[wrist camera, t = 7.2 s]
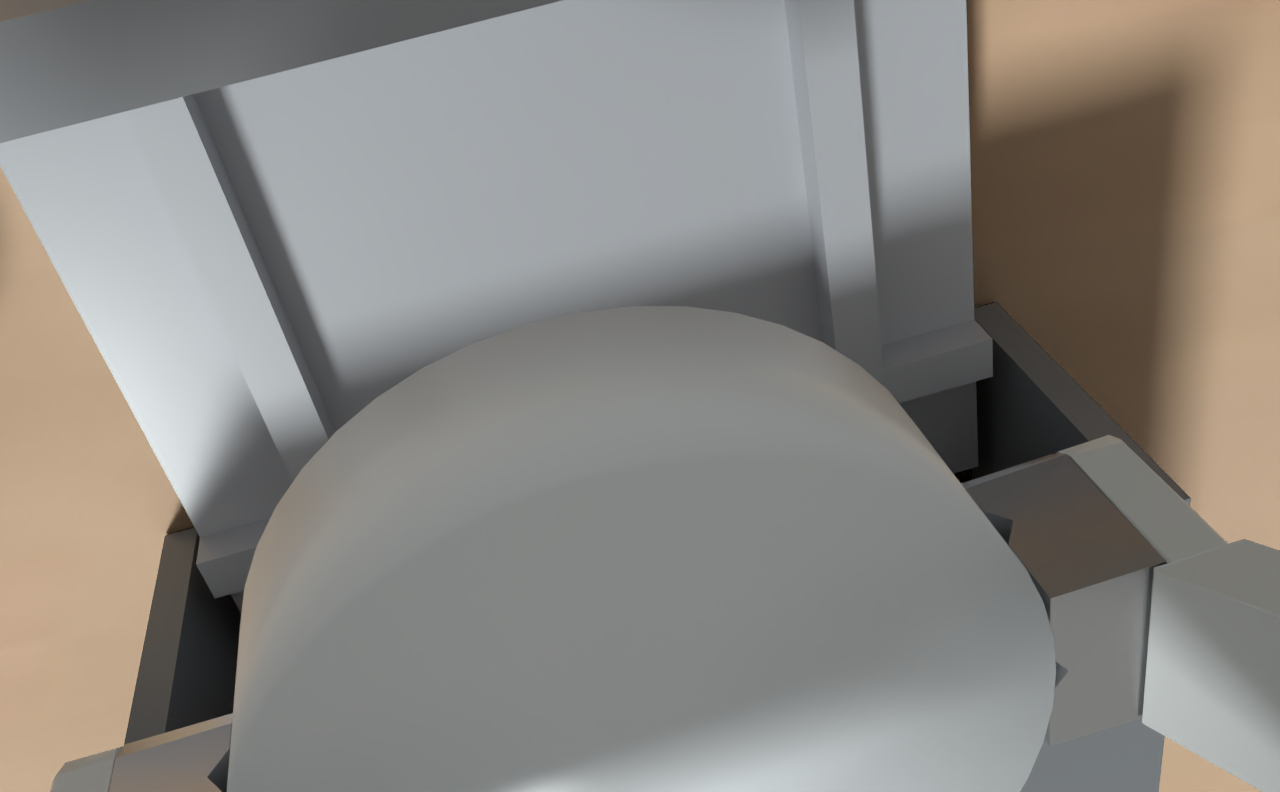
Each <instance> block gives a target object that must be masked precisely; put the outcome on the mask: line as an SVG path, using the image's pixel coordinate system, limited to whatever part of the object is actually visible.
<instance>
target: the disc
mask: <svg viewBox="0 0 1280 792" xmlns="http://www.w3.org/2000/svg"><path fill="white" fill-rule="evenodd" d="M1055 679H1056V663H1055V651H1054V639H1053V633H1052V630H1051V627H1050V623H1049V620H1048V616H1047V613H1046V609H1045V606H1044V602H1043V600H1042V598H1041V596H1040V594H1039V592H1038V591H1037V589H1036V587H1035V585H1034V583H1033V581H1032V579H1031V577H1030V575H1029V573H1028V571H1027V570H1026V568H1025V567H1024V565H1023V564H1022V563H1021V562H1020V560H1019V559H1018V558H1017V556H1016V555H1015V554H1014V552H1013V551H1012V550H1011V548H1010V547H1009V546H1008V545H1007V543H1006V542H1005V541H1004V539H1003V538H1002V537H1001V535H1000V534H999V533H998V531H997V530H996V529H995V528H994V526H993V525H992V524H991V522H990V521H989V520H988V518H987V517H986V516H985V514H984V513H983V512H982V511H981V509H980V508H979V507H978V505H977V504H976V503H975V501H974V500H973V499H972V497H971V496H970V495H969V494H968V492H967V491H966V490H965V488H964V487H963V486H962V484H961V483H960V482H959V480H958V479H957V478H956V477H955V475H954V474H953V473H952V471H951V470H950V469H949V467H948V466H947V465H946V463H945V462H944V461H943V460H942V458H941V457H940V456H939V454H938V453H937V452H936V450H935V449H934V448H933V446H932V445H931V444H930V443H929V441H928V440H927V439H926V437H925V436H924V435H923V433H922V432H921V431H920V429H919V428H918V427H917V426H916V424H915V423H914V422H913V420H912V419H911V418H910V417H909V415H908V414H907V413H906V412H905V410H904V409H903V408H902V407H901V405H900V404H899V403H898V402H897V401H896V399H895V398H894V397H893V396H892V394H891V393H890V392H889V391H888V390H887V389H886V388H885V387H884V386H883V385H882V384H880V383H879V382H878V381H877V380H876V379H875V378H874V377H872V376H871V375H870V374H869V373H868V372H867V371H865V370H864V369H863V368H862V367H861V366H860V365H859V364H857V363H855V362H854V361H852V360H851V359H849V358H847V357H846V356H844V355H842V354H841V353H839V352H838V351H836V350H834V349H833V348H831V347H830V346H828V345H826V344H825V343H823V342H821V341H818V340H816V339H814V338H811V337H809V336H807V335H804V334H802V333H800V332H797V331H795V330H793V329H790V328H788V327H786V326H783V325H780V324H776V323H773V322H769V321H765V320H761V319H758V318H754V317H750V316H746V315H743V314H739V313H734V312H727V311H719V310H711V309H704V308H696V307H688V306H629V307H620V308H611V309H602V310H593V311H585V312H578V313H573V314H569V315H565V316H560V317H556V318H552V319H547V320H543V321H539V322H535V323H530V324H526V325H523V326H520V327H517V328H514V329H512V330H509V331H506V332H503V333H500V334H498V335H495V336H492V337H489V338H486V339H483V340H481V341H478V342H475V343H472V344H470V345H468V346H466V347H464V348H462V349H460V350H458V351H456V352H454V353H452V354H450V355H448V356H446V357H444V358H442V359H440V360H438V361H436V362H434V363H432V364H429V365H427V366H425V367H423V368H422V369H420V370H418V371H417V372H415V373H414V374H412V375H411V376H409V377H408V378H406V379H405V380H403V381H401V382H400V383H398V384H397V385H395V386H394V387H392V388H391V389H389V390H388V391H386V392H384V393H383V394H381V395H380V396H378V397H377V398H376V399H374V400H373V401H372V402H371V403H370V404H368V405H367V406H366V407H365V408H364V409H362V410H361V411H360V412H359V413H358V414H356V415H355V416H354V417H353V418H352V419H350V420H349V421H348V422H347V423H346V424H344V425H343V426H342V427H341V428H340V429H339V430H337V431H336V432H335V433H334V434H333V435H332V437H331V438H330V439H329V440H328V441H327V442H326V443H325V444H324V445H323V446H322V447H321V449H320V450H319V451H318V452H317V453H316V454H315V455H314V456H313V457H312V458H311V459H310V461H309V462H308V463H307V464H306V465H305V466H304V467H303V468H302V470H301V471H300V472H299V474H298V475H297V477H296V478H295V480H294V481H293V483H292V484H291V486H290V487H289V488H288V490H287V491H286V493H285V494H284V496H283V497H282V499H281V500H280V502H279V503H278V504H277V506H276V507H275V509H274V512H273V514H272V516H271V518H270V520H269V522H268V524H267V526H266V528H265V530H264V532H263V534H262V536H261V538H260V540H259V542H258V545H257V547H256V550H255V553H254V556H253V560H252V563H251V567H250V570H249V573H248V577H247V580H246V583H245V587H244V595H243V604H242V613H241V622H240V632H239V645H238V657H237V669H236V682H235V694H234V707H233V719H232V731H231V744H230V756H229V768H228V781H227V792H1020V791H1021V789H1022V788H1023V786H1024V784H1025V782H1026V781H1027V779H1028V777H1029V775H1030V773H1031V770H1032V768H1033V766H1034V763H1035V761H1036V759H1037V756H1038V754H1039V752H1040V749H1041V747H1042V745H1043V742H1044V738H1045V734H1046V731H1047V727H1048V723H1049V719H1050V716H1051V712H1052V708H1053V699H1054V689H1055Z"/></svg>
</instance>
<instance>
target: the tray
mask: <svg viewBox="0 0 1280 792" xmlns="http://www.w3.org/2000/svg"><path fill="white" fill-rule="evenodd" d="M0 166H1V168H2V170H3V172H4V174H5V176H6V178H7V179H8V181H9V183H10V185H11V187H12V189H13V191H14V192H15V194H16V196H17V198H18V200H19V202H20V204H21V205H22V207H23V209H24V211H25V213H26V215H27V217H28V218H29V220H30V222H31V224H32V226H33V228H34V230H35V232H36V233H37V235H38V237H39V239H40V241H41V243H42V245H43V246H44V248H45V250H46V252H47V254H48V256H49V258H50V259H51V261H52V263H53V265H54V267H55V269H56V271H57V272H58V274H59V276H60V278H61V280H62V282H63V284H64V285H65V287H66V289H67V291H68V293H69V295H70V297H71V298H72V300H73V302H74V304H75V306H76V308H77V310H78V311H79V313H80V315H81V317H82V319H83V321H84V323H85V324H86V326H87V328H88V330H89V332H90V334H91V336H92V337H93V339H94V341H95V343H96V345H97V347H98V349H99V351H100V352H101V354H102V356H103V358H104V360H105V362H106V364H107V365H108V367H109V369H110V371H111V373H112V375H113V377H114V378H115V380H116V382H117V384H118V386H119V388H120V390H121V391H122V393H123V395H124V397H125V399H126V401H127V403H128V404H129V406H130V408H131V410H132V412H133V414H134V416H135V417H136V419H137V421H138V423H139V425H140V427H141V429H142V430H143V432H144V434H145V436H146V438H147V440H148V442H149V443H150V445H151V447H152V449H153V451H154V453H155V455H156V456H157V458H158V460H159V462H160V464H161V466H162V468H163V470H164V471H165V473H166V475H167V477H168V479H169V481H170V483H171V484H172V486H173V488H174V490H175V492H176V494H177V496H178V497H179V499H180V501H181V503H182V505H183V507H184V509H185V510H186V512H187V514H188V516H189V518H190V520H191V522H192V523H193V525H194V527H195V529H196V531H197V533H198V535H199V536H200V542H199V548H198V555H197V561H196V565H197V567H198V569H199V571H200V573H201V574H202V576H203V578H204V580H205V582H206V584H207V585H208V587H209V589H210V591H211V593H212V594H213V596H214V598H219V597H222V596H226V595H229V594H231V596H232V598H233V600H234V602H235V603H236V605H237V607H238V609H239V611H240V613H242V604H243V595H244V587H245V583H246V580H247V577H248V573H249V570H250V567H251V563H252V560H253V556H254V553H255V550H256V547H257V545H258V542H259V540H260V538H261V536H262V534H263V532H264V530H265V528H266V526H267V524H268V522H269V520H270V518H271V516H272V514H273V512H274V509H275V507H276V506H277V504H278V503H279V502H280V500H281V499H282V497H283V496H284V494H285V493H286V491H287V490H288V488H289V487H290V486H291V484H292V483H293V481H294V480H295V478H296V477H297V475H298V474H299V472H300V471H301V470H302V468H303V467H304V466H305V465H306V464H307V463H308V462H309V461H310V459H311V458H312V457H313V456H314V455H315V454H316V453H317V452H318V451H319V450H320V449H321V447H322V446H323V445H324V444H325V443H326V442H327V441H328V440H329V439H330V438H331V437H332V435H333V434H334V433H335V432H336V431H337V430H339V429H340V428H341V427H342V426H343V425H344V424H346V423H347V422H348V421H349V420H350V419H352V418H353V417H354V416H355V415H356V414H358V413H359V412H360V411H361V410H362V409H364V408H365V407H366V406H367V405H368V404H370V403H371V402H372V401H373V400H374V399H376V398H377V397H378V396H380V395H381V394H383V393H384V392H386V391H388V390H389V389H391V388H392V387H394V386H395V385H397V384H398V383H400V382H401V381H403V380H405V379H406V378H408V377H409V376H411V375H412V374H414V373H415V372H417V371H418V370H420V369H422V368H423V367H425V366H427V365H429V364H432V363H434V362H436V361H438V360H440V359H442V358H444V357H446V356H448V355H450V354H452V353H454V352H456V351H458V350H460V349H462V348H464V347H466V346H468V345H470V344H472V343H475V342H478V341H481V340H483V339H486V338H489V337H492V336H495V335H498V334H500V333H503V332H506V331H509V330H512V329H514V328H517V327H520V326H523V325H526V324H530V323H535V322H539V321H543V320H547V319H552V318H556V317H560V316H565V315H569V314H573V313H578V312H585V311H593V310H602V309H611V308H620V307H629V306H688V307H696V308H704V309H711V310H719V311H727V312H734V313H739V314H743V315H746V316H750V317H754V318H758V319H761V320H765V321H769V322H773V323H776V324H780V325H783V326H786V327H788V328H790V329H793V330H795V331H797V332H800V333H802V334H804V335H807V336H809V337H811V338H814V339H816V340H818V341H821V342H823V343H825V344H826V345H828V346H830V347H831V348H833V349H834V350H836V351H838V352H839V353H841V354H842V355H844V356H846V357H847V358H849V359H851V360H852V361H854V362H855V363H857V364H859V365H860V366H861V367H862V368H863V369H864V370H865V371H867V372H868V373H869V374H870V375H871V376H872V377H874V378H875V379H876V380H877V381H878V382H879V383H880V384H882V385H883V386H884V387H885V388H886V389H887V390H888V391H889V392H890V393H891V394H892V396H893V397H894V398H895V399H896V401H897V402H898V403H899V404H900V405H901V407H902V408H903V409H904V410H905V412H906V413H907V414H908V415H909V417H910V418H911V419H912V420H913V422H914V423H915V424H916V426H917V427H918V428H919V429H920V431H921V432H922V433H923V435H924V436H925V437H926V439H927V440H928V441H929V443H930V444H931V445H932V446H933V448H934V449H935V450H936V452H937V453H938V454H939V456H940V457H941V458H942V460H943V461H944V462H945V463H946V465H947V466H948V467H949V469H950V470H951V471H952V473H953V474H954V473H957V472H961V471H964V470H968V469H971V468H974V467H978V434H977V396H976V381H979V380H982V379H986V378H989V377H993V343H992V338H991V337H990V336H989V335H988V334H987V333H986V331H985V330H984V329H983V328H982V327H981V326H980V325H979V324H978V323H977V322H976V321H975V319H974V281H973V242H972V204H971V166H970V127H969V89H968V50H967V12H966V0H0Z"/></svg>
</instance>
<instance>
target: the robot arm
mask: <svg viewBox="0 0 1280 792" xmlns="http://www.w3.org/2000/svg"><path fill="white" fill-rule="evenodd" d="M961 484H962V486H963V487H964V488H965V490H966V491H967V492H968V494H969V495H970V496H971V497H972V499H973V500H974V501H975V503H976V504H977V505H978V507H979V508H980V509H981V511H982V512H983V513H984V514H985V516H986V517H987V518H988V520H989V521H990V522H991V524H992V525H993V526H994V528H995V529H996V530H997V531H998V533H999V534H1000V535H1001V537H1002V538H1003V539H1004V541H1005V542H1006V543H1007V545H1008V546H1009V547H1010V548H1011V550H1012V551H1013V552H1014V554H1015V555H1016V556H1017V558H1018V559H1019V560H1020V562H1021V563H1022V564H1023V565H1024V567H1025V568H1026V570H1027V571H1028V573H1029V575H1030V577H1031V579H1032V581H1033V583H1034V585H1035V587H1036V589H1037V591H1038V592H1039V594H1040V596H1041V598H1042V600H1043V602H1044V606H1045V609H1046V613H1047V616H1048V620H1049V623H1050V627H1051V630H1052V633H1053V639H1054V651H1055V663H1056V679H1055V689H1054V699H1053V708H1052V712H1051V716H1050V719H1049V723H1048V727H1047V731H1046V734H1045V740H1046V741H1047V743H1048V744H1049V746H1052V745H1055V744H1059V743H1062V742H1065V741H1069V740H1072V739H1075V738H1078V737H1082V736H1085V735H1088V734H1092V733H1095V732H1098V731H1101V730H1105V729H1108V728H1111V727H1114V726H1118V725H1121V724H1124V723H1128V722H1131V721H1134V720H1137V719H1141V718H1142V723H1143V724H1144V725H1146V726H1148V727H1150V728H1151V729H1153V730H1155V731H1157V732H1158V733H1160V734H1162V735H1164V736H1165V737H1167V738H1169V739H1171V740H1173V741H1174V742H1176V743H1178V744H1180V745H1181V746H1183V747H1185V748H1187V749H1188V750H1190V751H1192V752H1194V753H1195V754H1197V755H1199V756H1201V757H1202V758H1204V759H1206V760H1208V761H1209V762H1211V763H1213V764H1215V765H1216V766H1218V767H1220V768H1222V769H1223V770H1225V771H1227V772H1229V773H1230V774H1232V775H1234V776H1236V777H1237V778H1239V779H1241V780H1243V781H1244V782H1246V783H1248V784H1250V785H1251V786H1253V787H1255V788H1257V789H1258V790H1260V791H1262V792H1280V551H1279V550H1276V549H1273V548H1270V547H1267V546H1264V545H1261V544H1258V543H1255V542H1252V541H1249V540H1246V539H1243V540H1240V541H1236V542H1233V543H1230V544H1228V543H1227V542H1226V541H1225V540H1224V539H1223V538H1222V537H1221V536H1220V535H1219V534H1218V533H1217V532H1216V531H1215V530H1214V529H1213V528H1212V527H1211V526H1210V525H1209V524H1208V523H1207V522H1206V521H1205V520H1204V519H1203V518H1202V517H1201V516H1199V515H1198V514H1197V513H1196V512H1195V511H1194V510H1193V509H1192V508H1191V507H1190V506H1189V505H1188V504H1187V503H1186V502H1185V501H1184V500H1183V499H1182V498H1181V497H1180V496H1179V495H1178V494H1177V493H1176V492H1175V491H1174V490H1173V489H1172V488H1171V487H1170V486H1169V485H1167V484H1166V483H1165V482H1164V481H1163V480H1162V479H1161V478H1160V477H1159V476H1158V475H1157V474H1156V473H1155V472H1154V471H1153V470H1152V469H1151V468H1150V467H1149V466H1148V465H1147V464H1146V463H1145V462H1144V461H1143V460H1142V459H1141V458H1140V457H1139V456H1138V455H1137V454H1135V453H1134V452H1133V451H1132V450H1131V449H1130V448H1129V447H1128V446H1127V445H1126V444H1125V443H1124V442H1123V441H1122V440H1121V439H1119V438H1116V437H1113V436H1111V435H1107V436H1104V437H1101V438H1098V439H1095V440H1092V441H1089V442H1086V443H1083V444H1080V445H1076V446H1073V447H1070V448H1067V449H1064V450H1061V451H1058V452H1057V453H1056V454H1050V455H1047V456H1044V457H1041V458H1038V459H1035V460H1032V461H1029V462H1026V463H1023V464H1020V465H1017V466H1013V467H1010V468H1007V469H1004V470H1001V471H998V472H995V473H992V474H989V475H986V476H983V477H980V478H976V479H973V480H970V481H967V482H964V483H961ZM232 719H233V713H232V714H228V715H225V716H221V717H218V718H214V719H211V720H207V721H204V722H201V723H197V724H194V725H190V726H187V727H183V728H180V729H176V730H173V731H169V732H166V733H163V734H159V735H156V736H152V737H149V738H145V739H142V740H138V741H135V742H131V743H128V744H125V745H124V746H123V747H120V748H116V749H112V750H109V751H105V752H102V753H98V754H95V755H91V756H88V757H84V758H80V759H77V760H73V761H70V762H66V763H65V764H64V766H63V767H62V768H61V769H60V771H59V772H58V773H57V775H56V776H55V778H54V780H53V783H52V787H51V791H50V792H227V781H228V768H229V756H230V744H231V731H232Z"/></svg>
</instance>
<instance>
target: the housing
mask: <svg viewBox="0 0 1280 792" xmlns="http://www.w3.org/2000/svg"><path fill="white" fill-rule="evenodd" d="M974 319H975V321H976V322H977V323H978V324H979V325H980V326H981V327H982V328H983V329H984V330H985V331H986V333H987V334H988V335H989V336H990V337H991V338H992V343H993V377H989V378H986V379H982V380H979V381H976V396H977V434H978V467H974V468H972V480H973V479H976V478H980V477H983V476H986V475H989V474H992V473H995V472H998V471H1001V470H1004V469H1007V468H1010V467H1013V466H1017V465H1020V464H1023V463H1026V462H1029V461H1032V460H1035V459H1038V458H1041V457H1044V456H1047V455H1050V454H1056V453H1057V452H1058V451H1061V450H1064V449H1067V448H1070V447H1073V446H1076V445H1080V444H1083V443H1086V442H1089V441H1092V440H1095V439H1098V438H1101V437H1104V436H1107V435H1111V436H1113V437H1116V438H1119V439H1121V440H1122V441H1123V442H1124V443H1125V444H1126V445H1127V446H1128V447H1129V448H1130V449H1131V450H1132V451H1133V452H1134V453H1135V454H1137V455H1138V456H1139V457H1140V458H1141V459H1142V460H1143V461H1144V462H1145V463H1146V464H1147V465H1148V466H1149V467H1150V468H1151V469H1152V470H1153V471H1154V472H1155V473H1156V474H1157V475H1158V476H1159V477H1160V478H1161V479H1162V480H1163V481H1164V482H1165V483H1166V484H1167V485H1169V486H1170V487H1171V488H1172V489H1173V490H1174V491H1175V492H1176V493H1177V494H1178V495H1179V496H1180V497H1181V498H1182V499H1183V500H1184V501H1185V502H1186V503H1187V504H1188V505H1189V506H1190V499H1191V498H1190V497H1189V496H1188V495H1187V494H1186V493H1185V492H1184V491H1183V490H1182V489H1181V488H1180V487H1179V486H1178V485H1177V484H1176V483H1175V482H1174V481H1173V480H1172V479H1171V478H1170V477H1169V476H1168V475H1167V474H1166V473H1165V472H1164V471H1163V470H1162V469H1161V468H1160V467H1159V466H1158V465H1157V464H1156V463H1155V462H1154V461H1153V460H1152V459H1151V458H1150V457H1149V456H1148V455H1147V454H1146V453H1145V452H1144V451H1143V450H1142V449H1141V448H1140V447H1139V446H1138V445H1137V444H1136V443H1135V442H1134V441H1133V440H1132V439H1131V437H1130V436H1129V435H1128V434H1127V433H1126V432H1125V431H1124V430H1123V429H1122V428H1121V427H1120V426H1119V425H1118V424H1117V423H1116V422H1115V421H1114V420H1113V419H1112V418H1111V417H1110V416H1109V415H1108V414H1107V413H1106V412H1105V411H1104V410H1103V409H1102V408H1101V407H1100V406H1099V405H1098V404H1097V403H1096V402H1095V401H1094V400H1093V399H1092V398H1091V397H1090V396H1089V395H1088V394H1087V393H1086V392H1085V391H1084V390H1083V389H1082V388H1081V387H1080V386H1079V385H1078V384H1077V383H1076V382H1075V381H1074V380H1073V379H1072V378H1071V377H1070V376H1069V375H1068V374H1067V373H1066V372H1065V371H1064V370H1063V369H1062V368H1061V367H1060V366H1059V365H1058V364H1057V363H1056V362H1055V361H1054V360H1053V359H1052V358H1051V357H1050V356H1049V355H1048V354H1047V353H1046V352H1045V351H1044V350H1043V349H1042V348H1041V347H1040V346H1039V345H1038V344H1037V343H1036V342H1035V341H1034V340H1033V339H1032V337H1031V336H1030V335H1029V334H1028V333H1027V332H1026V331H1025V330H1024V329H1023V328H1022V327H1021V326H1020V325H1019V324H1018V323H1017V322H1016V321H1015V320H1014V319H1013V318H1012V317H1011V316H1010V315H1009V314H1008V313H1007V312H1006V311H1005V310H1004V309H1003V308H1002V307H1001V306H1000V305H999V304H998V303H997V302H996V303H992V304H988V305H985V306H981V307H978V308H974ZM199 542H200V536H199V535H198V533H197V531H196V529H195V527H194V528H191V529H187V530H184V531H180V532H176V533H173V534H169V535H166V536H165V539H164V544H163V549H162V554H161V560H160V565H159V570H158V575H157V580H156V585H155V590H154V595H153V600H152V605H151V611H150V616H149V621H148V626H147V631H146V636H145V641H144V646H143V651H142V656H141V662H140V667H139V672H138V677H137V682H136V687H135V692H134V697H133V702H132V707H131V713H130V718H129V723H128V728H127V733H126V738H125V743H124V745H125V744H128V743H131V742H135V741H138V740H142V739H145V738H149V737H152V736H156V735H159V734H163V733H166V732H169V731H173V730H176V729H180V728H183V727H187V726H190V725H194V724H197V723H201V722H204V721H207V720H211V719H214V718H218V717H221V716H225V715H228V714H232V713H233V707H234V694H235V682H236V669H237V657H238V645H239V632H240V622H241V613H240V611H239V609H238V607H237V605H236V603H235V602H234V600H233V598H232V596H231V594H229V595H226V596H222V597H219V598H214V596H213V594H212V593H211V591H210V589H209V587H208V585H207V584H206V582H205V580H204V578H203V576H202V574H201V573H200V571H199V569H198V567H197V565H196V561H197V555H198V548H199ZM1164 737H1165V736H1164V735H1162V734H1160V733H1158V732H1157V731H1155V730H1153V729H1151V728H1150V727H1148V726H1146V725H1144V724H1143V723H1142V718H1141V719H1137V720H1134V721H1131V722H1128V723H1124V724H1121V725H1118V726H1114V727H1111V728H1108V729H1105V730H1101V731H1098V732H1095V733H1092V734H1088V735H1085V736H1082V737H1078V738H1075V739H1072V740H1069V741H1065V742H1062V743H1059V744H1055V745H1052V746H1049V744H1048V743H1047V741H1046V740H1045V738H1044V742H1043V745H1042V747H1041V749H1040V752H1039V754H1038V756H1037V759H1036V761H1035V763H1034V766H1033V768H1032V770H1031V773H1030V775H1029V777H1028V779H1027V781H1026V782H1025V784H1024V786H1023V788H1022V789H1021V791H1020V792H1159V783H1160V774H1161V764H1162V755H1163V746H1164Z"/></svg>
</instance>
